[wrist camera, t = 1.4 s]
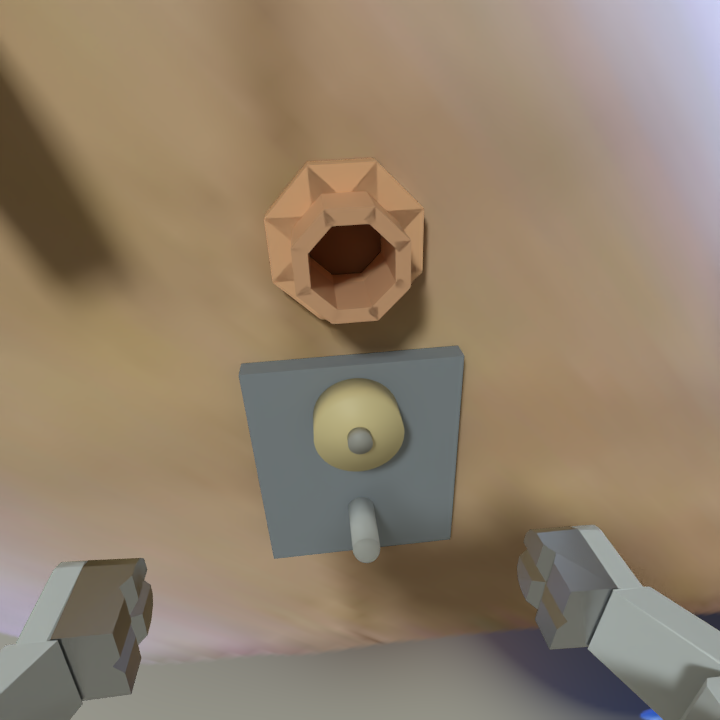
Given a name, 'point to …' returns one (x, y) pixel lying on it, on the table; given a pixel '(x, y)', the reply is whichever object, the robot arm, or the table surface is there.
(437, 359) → the carrier plate
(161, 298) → the table surface
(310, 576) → the table surface
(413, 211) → the octagonal tube stub
